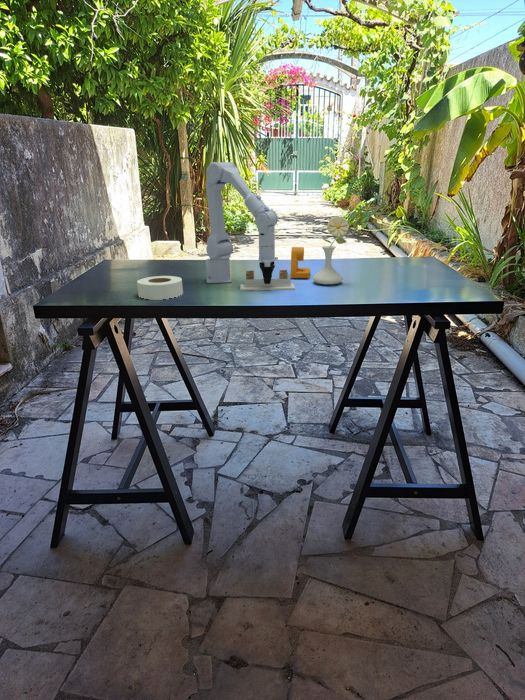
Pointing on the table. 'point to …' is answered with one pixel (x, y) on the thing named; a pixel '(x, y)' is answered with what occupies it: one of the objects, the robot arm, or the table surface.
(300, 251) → the bracket
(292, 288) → the mat
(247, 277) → the post left
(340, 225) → the flower in vase
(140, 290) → the roll of tape
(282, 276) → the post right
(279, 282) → the rail
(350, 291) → the table surface
